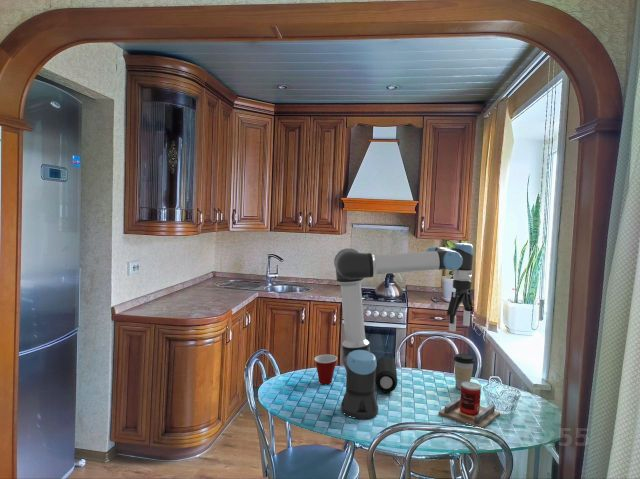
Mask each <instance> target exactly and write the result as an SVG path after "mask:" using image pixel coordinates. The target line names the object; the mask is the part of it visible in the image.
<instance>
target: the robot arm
mask: <svg viewBox="0 0 640 479" xmlns="http://www.w3.org/2000/svg"><path fill="white" fill-rule="evenodd" d="M473 260H474V246H473V245H472V244H471V243H463V242H462V243H461V242H457V243H455V244H454V247H443V246H442V247H440V246H439V247H438V246H430V247H428V248H427V249H426V251H421V252H420V251H419V252H407V253H391V254H390V253H389V254H376V255H374V254H373V253H372V252H364V253H363V252H359V251H357V250H356V249H355V248H352V247H351V248H349V247H346V248H343V249H340V251H338V252H337V254H336V255H335V258H334V260H333V264H334V265H333V266H334V267H335V277H336V278H335V279H336V283H338V285H340V291H341V292H340V294H341V295H340V296H341V305H342V307H341V308H342V314H343V315H342V317H343V329H344V339H345V340H344V341H343V342H342V343H341V348H342V356H341V357H342V358H341V359H342V363H343V365H344V369H345V373H346V376H345V377H346V380H345V381H346V382H345V393H344V395H343V398H342V400H341V402H340V403H341V404H340V412H341V411H342V412H343V413H345V414H346V415H348V416H351V417H355V418H362V419H361V420H367V419H366V418H370V419H373V418H375V417H377V416H378V415H377V414H379V405H378V400H377V397H376V393H375V392H376V384H375V377H376V366H377V363H376V362H377V358H376V355H375V354H374V353H372V352H371V350H370V349H371V348H370V341H369V340H368V339H367V338H366V332H365V330H366V329H365V320H364V318H365V317H364V309H363V308H364V307H363V297H362V296H363V295H362V294H363V293H362V283H363V281H364V280H365V279H367V278H374V277H375V276H376V275H386V274H398V273H410V272H426V271H438V270H439V271H442V270H448V271H453V273H452V274H453V275H452V276H453V280H452V288H453V289H455V291H451V296H450V301H449V303H448V308H447V311H446V314H447V316H449V317H448V318H449V322H448V331H450V332H456V331H457V330H456V328H457V315H456V314H457V312H458V310H459V307H460V304H462V306H463V308H464V310H463V318H462V326H466V327H470V325H471V324H470V323H471V312H473V310H474V306H473V300H472V290H471V289H472V275H473ZM342 412H341V413H342ZM343 413H342V414H343ZM346 415H345V416H346ZM376 415H377V416H376ZM348 416H347V417H348ZM351 417H350V418H351ZM372 417H373V418H372ZM355 418H354V419H355Z"/></svg>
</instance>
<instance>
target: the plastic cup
mask: <svg viewBox="0 0 640 479" xmlns="http://www.w3.org/2000/svg"><path fill="white" fill-rule="evenodd" d="M313 359H314V362H315V364H316V365H315V366H316V370H317V371H316V372H317V377H318V382H320V383H322V384H321V385H323V384H329V385H331V384H332V382H333V377H334V374H335V368H336V363H337V360H338V357H337V356H336V355H334V354H327V353H326V354H319V355H317V356H315V357H313ZM320 383H319V384H320ZM330 383H331V384H330Z"/></svg>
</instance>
